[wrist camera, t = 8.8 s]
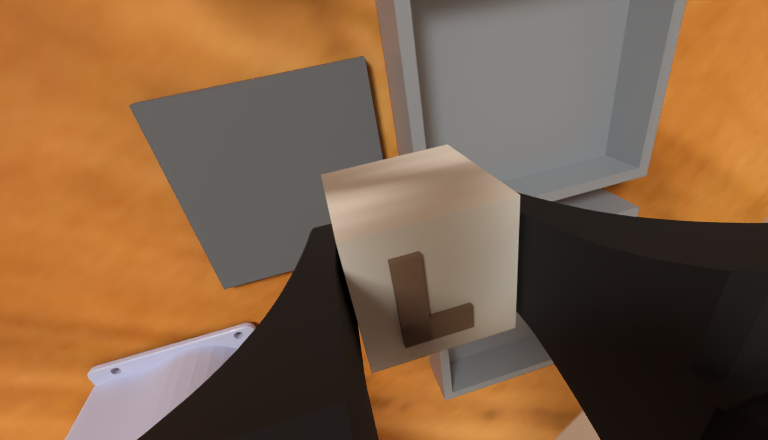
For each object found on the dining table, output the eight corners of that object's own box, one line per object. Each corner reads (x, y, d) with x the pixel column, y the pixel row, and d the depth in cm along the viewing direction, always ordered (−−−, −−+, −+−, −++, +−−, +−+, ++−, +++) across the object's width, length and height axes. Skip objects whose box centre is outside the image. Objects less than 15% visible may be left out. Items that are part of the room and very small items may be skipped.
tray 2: (430, 365, 27) (445, 400, 25) (411, 239, 21) (428, 267, 19) (579, 317, 29) (607, 345, 26) (600, 187, 23) (639, 207, 20)
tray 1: (407, 210, 20) (424, 236, 18) (369, -41, 14) (386, -57, 12) (604, 158, 22) (646, 175, 19) (644, -88, 16) (712, -111, 13)
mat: (225, 282, 20) (224, 289, 19) (134, 102, 15) (129, 105, 14) (394, 236, 21) (397, 241, 21) (362, 56, 16) (364, 57, 16)
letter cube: (349, 279, 12) (372, 378, 9) (320, 174, 10) (337, 248, 7) (454, 249, 13) (518, 331, 9) (447, 144, 11) (524, 197, 7)
